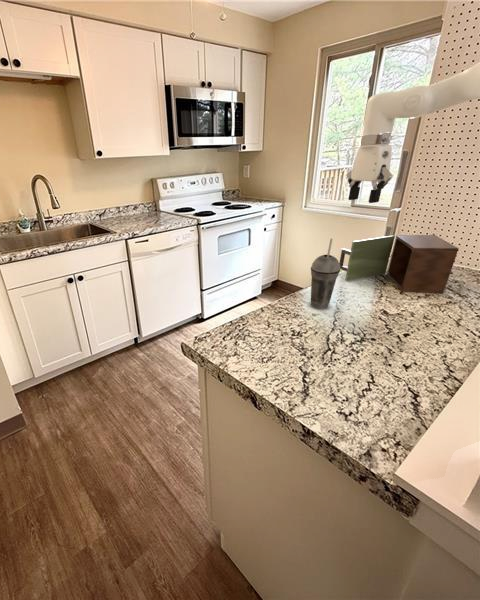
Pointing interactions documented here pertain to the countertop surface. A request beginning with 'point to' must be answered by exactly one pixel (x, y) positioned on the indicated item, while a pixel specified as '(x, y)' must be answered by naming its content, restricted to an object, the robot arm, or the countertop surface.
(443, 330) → the countertop surface
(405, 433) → the countertop surface
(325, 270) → the beverage cup
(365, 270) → the cupboard door
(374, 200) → the robot arm
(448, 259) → the cupboard
